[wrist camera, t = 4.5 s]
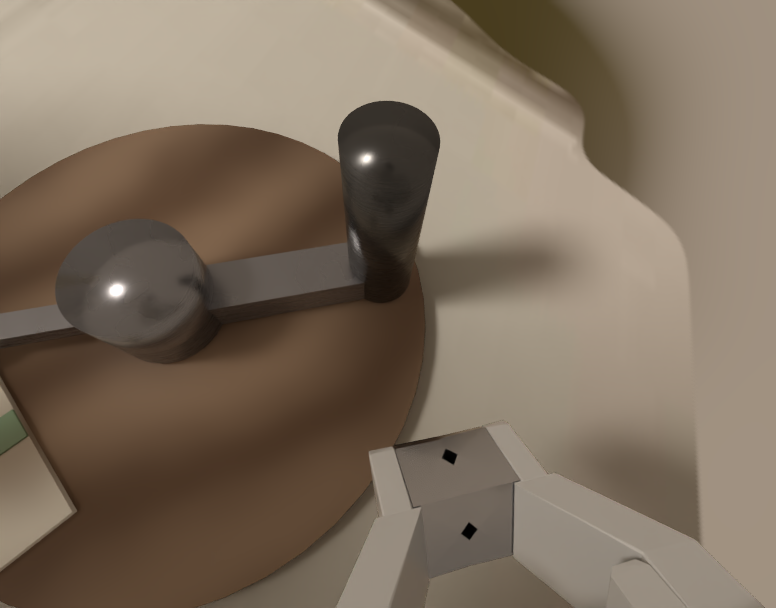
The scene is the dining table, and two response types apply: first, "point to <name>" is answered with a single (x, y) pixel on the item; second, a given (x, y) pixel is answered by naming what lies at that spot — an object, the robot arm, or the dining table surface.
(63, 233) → the stand
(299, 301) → the crank lever
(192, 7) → the dining table surface
